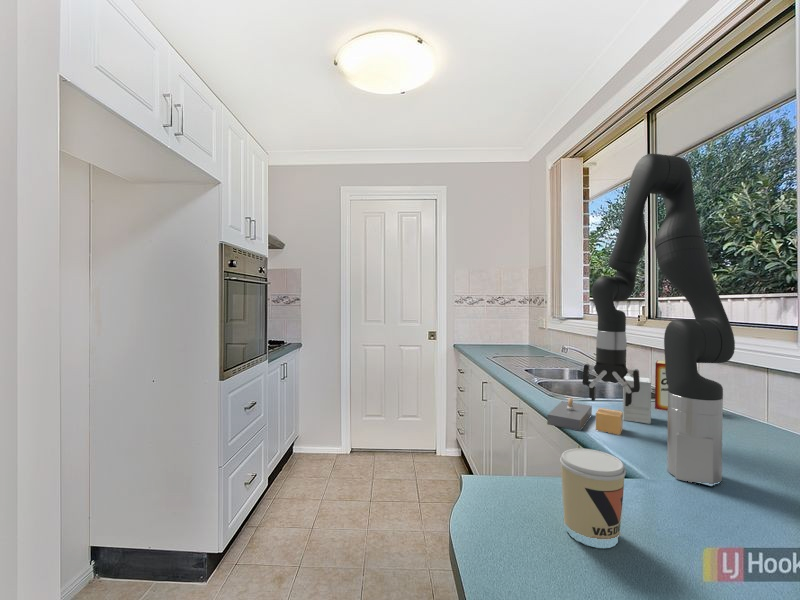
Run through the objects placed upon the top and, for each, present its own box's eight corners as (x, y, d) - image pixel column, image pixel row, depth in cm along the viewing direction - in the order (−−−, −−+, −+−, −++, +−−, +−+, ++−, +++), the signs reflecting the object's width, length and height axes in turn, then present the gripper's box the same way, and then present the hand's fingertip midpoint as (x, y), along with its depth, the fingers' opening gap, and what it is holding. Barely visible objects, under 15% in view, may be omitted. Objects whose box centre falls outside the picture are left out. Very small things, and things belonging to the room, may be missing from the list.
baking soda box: (655, 408, 130) (655, 361, 130) (656, 404, 135) (657, 359, 135) (689, 414, 124) (690, 365, 124) (690, 409, 129) (690, 362, 129)
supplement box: (650, 418, 120) (651, 377, 120) (651, 424, 114) (651, 382, 114) (623, 414, 124) (623, 375, 124) (622, 420, 118) (622, 379, 118)
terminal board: (580, 430, 108) (580, 407, 108) (547, 424, 113) (547, 402, 113) (591, 414, 123) (591, 394, 123) (562, 409, 128) (562, 390, 128)
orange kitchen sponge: (620, 435, 105) (620, 416, 105) (595, 430, 108) (596, 412, 108) (622, 428, 110) (622, 411, 110) (599, 424, 113) (599, 407, 113)
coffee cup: (595, 560, 55) (596, 477, 55) (546, 524, 64) (547, 452, 63) (638, 543, 59) (639, 465, 59) (587, 512, 67) (588, 444, 67)
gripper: (581, 345, 110) (580, 401, 111) (639, 350, 102) (637, 411, 102) (586, 343, 116) (585, 395, 117) (641, 347, 108) (640, 404, 108)
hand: (610, 402), depth 109 cm, fingers open, 8 cm apart
